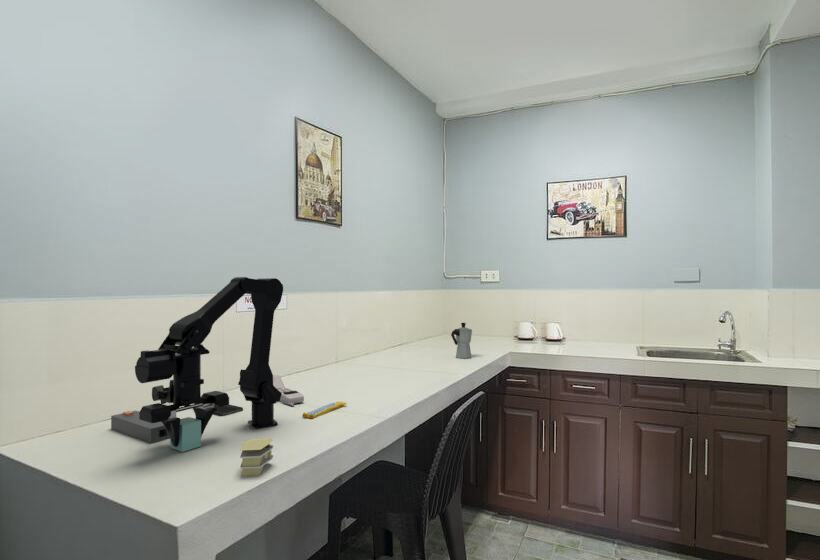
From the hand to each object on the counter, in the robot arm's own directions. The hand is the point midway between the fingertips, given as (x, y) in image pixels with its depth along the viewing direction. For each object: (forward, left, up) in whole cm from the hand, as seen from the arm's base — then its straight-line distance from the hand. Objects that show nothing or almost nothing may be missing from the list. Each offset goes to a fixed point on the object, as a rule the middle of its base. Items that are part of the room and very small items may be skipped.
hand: (186, 442), depth 106 cm
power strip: (+18, +8, -1) cm, 20 cm away
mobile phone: (+35, -33, -2) cm, 48 cm away
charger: (+2, +1, -1) cm, 2 cm away
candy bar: (+12, -38, -2) cm, 40 cm away
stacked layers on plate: (-21, -11, -2) cm, 24 cm away
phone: (+31, -12, -2) cm, 33 cm away
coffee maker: (+69, -135, -1) cm, 151 cm away
